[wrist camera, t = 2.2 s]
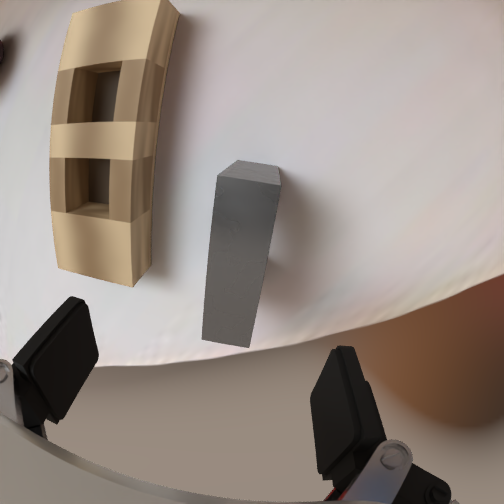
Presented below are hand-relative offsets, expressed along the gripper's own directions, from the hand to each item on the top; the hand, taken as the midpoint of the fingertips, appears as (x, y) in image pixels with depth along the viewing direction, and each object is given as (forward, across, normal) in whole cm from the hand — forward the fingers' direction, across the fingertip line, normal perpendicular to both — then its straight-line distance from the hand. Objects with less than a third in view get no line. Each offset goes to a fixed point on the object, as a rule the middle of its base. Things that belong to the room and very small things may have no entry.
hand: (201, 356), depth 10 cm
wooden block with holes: (+14, +11, -7) cm, 19 cm away
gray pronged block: (+14, -1, -1) cm, 14 cm away
